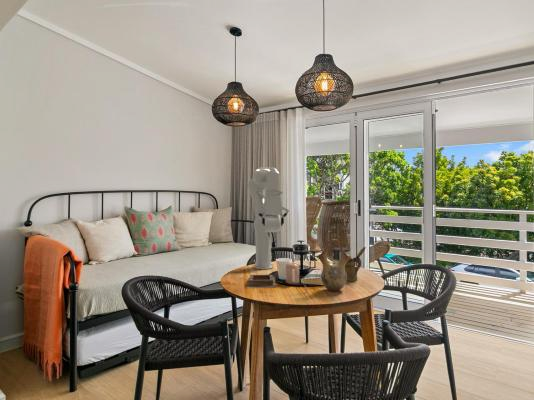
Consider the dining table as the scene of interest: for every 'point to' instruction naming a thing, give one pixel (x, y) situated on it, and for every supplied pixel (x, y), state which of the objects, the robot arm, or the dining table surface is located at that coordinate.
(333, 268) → the ceramic vessel
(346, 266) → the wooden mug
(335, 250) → the coffee can
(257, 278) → the jug stand
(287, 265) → the jug
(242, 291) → the dining table surface
